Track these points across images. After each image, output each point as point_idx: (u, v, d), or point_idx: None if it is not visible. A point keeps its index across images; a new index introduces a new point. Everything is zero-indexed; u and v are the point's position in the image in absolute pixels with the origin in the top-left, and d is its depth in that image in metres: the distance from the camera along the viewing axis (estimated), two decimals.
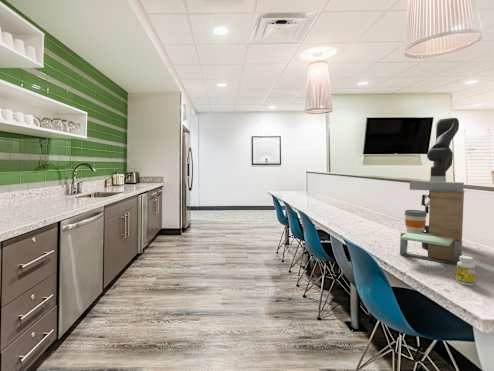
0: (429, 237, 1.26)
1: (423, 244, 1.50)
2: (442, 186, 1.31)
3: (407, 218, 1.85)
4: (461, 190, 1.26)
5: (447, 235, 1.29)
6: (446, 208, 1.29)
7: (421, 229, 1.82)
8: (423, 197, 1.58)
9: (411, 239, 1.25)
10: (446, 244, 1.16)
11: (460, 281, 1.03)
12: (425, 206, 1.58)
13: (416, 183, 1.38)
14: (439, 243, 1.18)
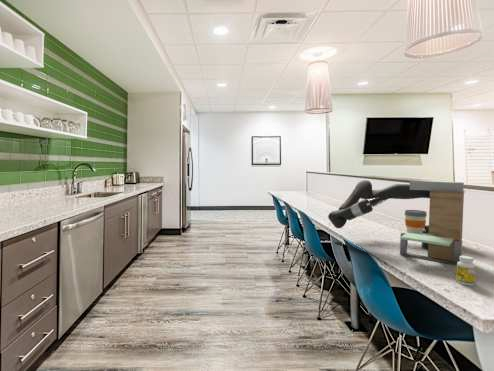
0: (429, 237, 1.26)
1: (423, 244, 1.50)
2: (442, 186, 1.31)
3: (407, 218, 1.85)
4: (461, 190, 1.26)
5: (447, 235, 1.29)
6: (446, 208, 1.29)
7: (421, 229, 1.82)
8: (368, 201, 1.50)
9: (411, 239, 1.25)
10: (446, 244, 1.16)
11: (460, 281, 1.03)
12: (378, 198, 1.47)
13: (416, 183, 1.38)
14: (439, 243, 1.18)
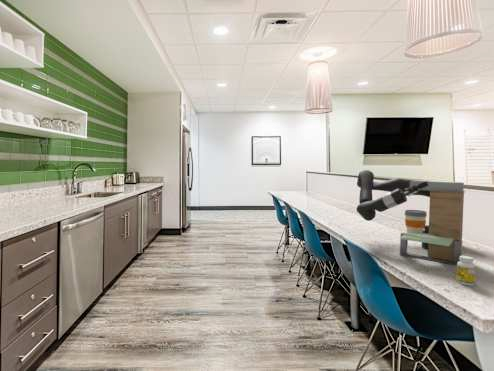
0: (429, 237, 1.26)
1: (423, 244, 1.50)
2: (442, 186, 1.31)
3: (407, 218, 1.85)
4: (461, 190, 1.26)
5: (447, 235, 1.29)
6: (446, 208, 1.29)
7: (421, 229, 1.82)
8: (406, 189, 1.38)
9: (411, 239, 1.25)
10: (446, 244, 1.16)
11: (460, 281, 1.03)
12: None
13: (416, 183, 1.38)
14: (439, 243, 1.18)
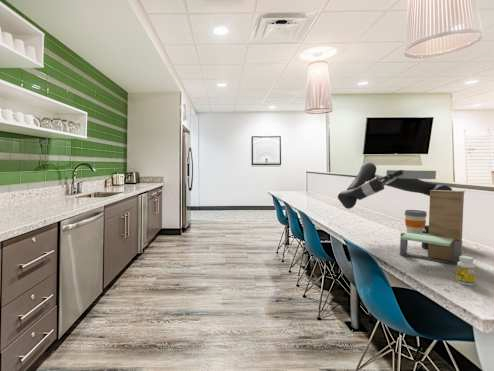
0: (429, 237, 1.26)
1: (423, 244, 1.50)
2: (416, 174, 1.37)
3: (407, 218, 1.85)
4: (433, 178, 1.33)
5: (447, 235, 1.29)
6: (446, 208, 1.29)
7: (421, 229, 1.82)
8: (382, 177, 1.44)
9: (411, 239, 1.25)
10: (446, 244, 1.16)
11: (460, 281, 1.03)
12: (394, 173, 1.43)
13: (392, 171, 1.45)
14: (439, 243, 1.18)
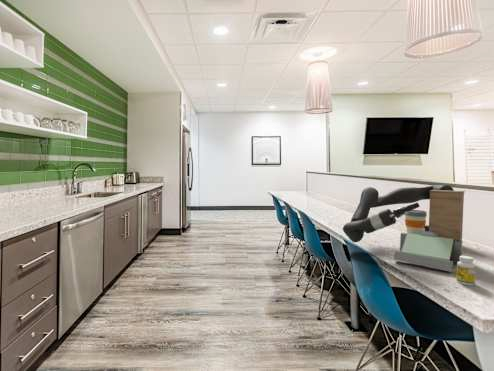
0: (429, 243, 1.27)
1: None
2: (429, 266, 1.19)
3: (407, 218, 1.85)
4: None
5: (447, 235, 1.29)
6: (446, 208, 1.29)
7: (421, 229, 1.82)
8: (392, 212, 1.27)
9: (412, 253, 1.27)
10: (446, 259, 1.18)
11: (460, 281, 1.03)
12: (404, 208, 1.25)
13: (400, 260, 1.26)
14: (439, 258, 1.20)
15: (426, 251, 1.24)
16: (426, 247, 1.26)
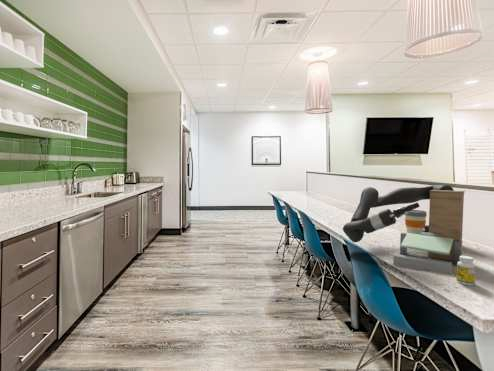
0: (429, 240, 1.27)
1: None
2: None
3: (407, 218, 1.85)
4: None
5: (447, 235, 1.29)
6: (446, 208, 1.29)
7: (421, 229, 1.82)
8: (392, 212, 1.27)
9: (411, 247, 1.25)
10: (446, 253, 1.17)
11: (460, 281, 1.03)
12: (404, 208, 1.25)
13: None
14: (439, 252, 1.18)
15: (426, 246, 1.23)
16: (426, 243, 1.25)
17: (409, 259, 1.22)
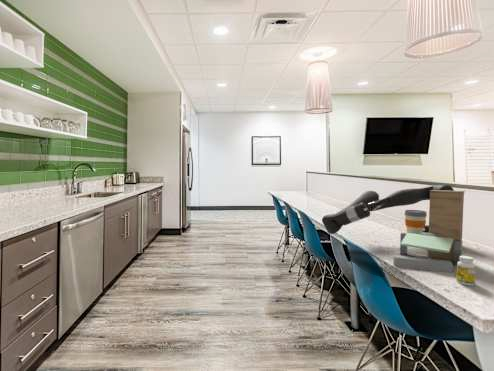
0: (429, 239, 1.26)
1: None
2: None
3: (407, 218, 1.85)
4: None
5: (447, 235, 1.29)
6: (446, 208, 1.29)
7: (421, 229, 1.82)
8: (365, 206, 1.35)
9: (411, 245, 1.25)
10: (446, 251, 1.16)
11: (460, 281, 1.03)
12: (376, 202, 1.32)
13: None
14: (439, 250, 1.18)
15: (426, 244, 1.23)
16: (426, 242, 1.25)
17: (410, 260, 1.21)
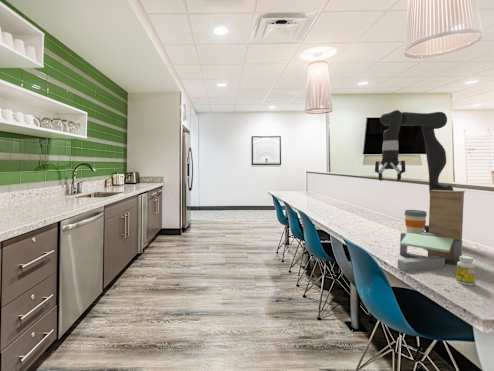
0: (429, 239, 1.26)
1: None
2: None
3: (407, 218, 1.85)
4: None
5: (447, 235, 1.29)
6: (446, 208, 1.29)
7: (421, 229, 1.82)
8: (376, 164, 1.51)
9: (411, 245, 1.25)
10: (446, 250, 1.16)
11: (460, 281, 1.03)
12: (378, 173, 1.51)
13: None
14: (439, 249, 1.18)
15: (426, 244, 1.23)
16: (426, 241, 1.25)
17: (417, 262, 1.18)
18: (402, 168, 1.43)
